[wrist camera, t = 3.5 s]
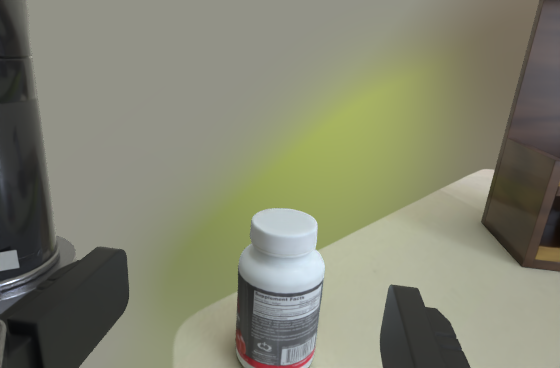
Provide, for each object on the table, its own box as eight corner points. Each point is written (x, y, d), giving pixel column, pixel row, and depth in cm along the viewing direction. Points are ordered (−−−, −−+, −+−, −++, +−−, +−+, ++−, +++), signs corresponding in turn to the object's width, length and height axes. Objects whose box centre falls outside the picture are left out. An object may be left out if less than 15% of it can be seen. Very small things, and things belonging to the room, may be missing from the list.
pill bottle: (239, 322, 28) (244, 200, 25) (310, 326, 29) (325, 206, 25) (230, 381, 23) (235, 238, 20) (317, 386, 23) (336, 244, 20)
